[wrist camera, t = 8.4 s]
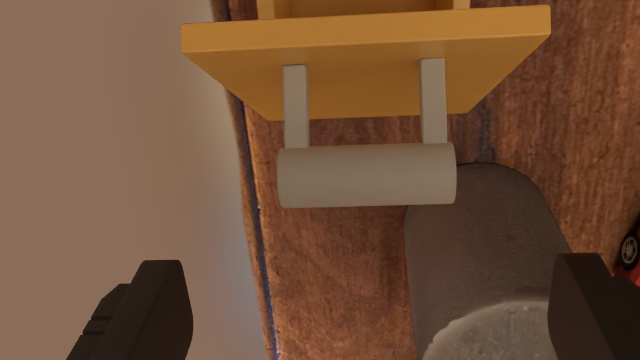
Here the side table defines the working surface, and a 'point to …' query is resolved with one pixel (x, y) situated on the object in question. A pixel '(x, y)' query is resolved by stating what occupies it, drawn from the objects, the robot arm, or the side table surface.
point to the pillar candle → (483, 269)
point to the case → (349, 7)
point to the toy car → (630, 258)
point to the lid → (367, 90)
